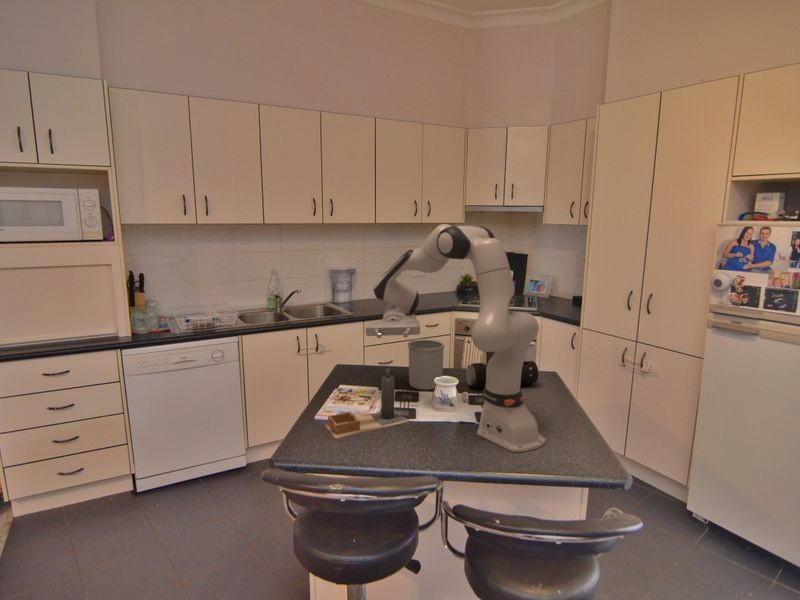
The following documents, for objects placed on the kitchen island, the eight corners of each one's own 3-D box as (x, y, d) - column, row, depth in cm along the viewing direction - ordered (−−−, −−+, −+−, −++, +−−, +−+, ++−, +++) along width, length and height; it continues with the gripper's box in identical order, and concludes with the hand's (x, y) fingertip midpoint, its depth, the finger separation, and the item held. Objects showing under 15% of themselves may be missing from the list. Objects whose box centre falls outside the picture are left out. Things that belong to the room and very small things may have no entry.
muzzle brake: (537, 388, 191) (539, 364, 189) (471, 392, 187) (472, 368, 185) (527, 380, 200) (529, 357, 198) (464, 384, 196) (465, 360, 194)
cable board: (408, 425, 158) (409, 413, 157) (335, 443, 146) (335, 429, 145) (394, 413, 168) (394, 401, 167) (324, 428, 156) (323, 415, 155)
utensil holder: (408, 376, 203) (409, 337, 200) (443, 377, 202) (444, 338, 199) (406, 389, 189) (406, 348, 185) (443, 391, 188) (444, 349, 184)
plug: (396, 417, 160) (396, 370, 156) (384, 420, 158) (384, 372, 154) (390, 412, 163) (390, 366, 160) (379, 415, 161) (379, 368, 158)
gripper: (366, 316, 180) (362, 328, 167) (419, 314, 179) (420, 326, 166) (367, 331, 182) (363, 344, 168) (419, 329, 181) (420, 343, 168)
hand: (392, 335), depth 167 cm, fingers open, 8 cm apart
